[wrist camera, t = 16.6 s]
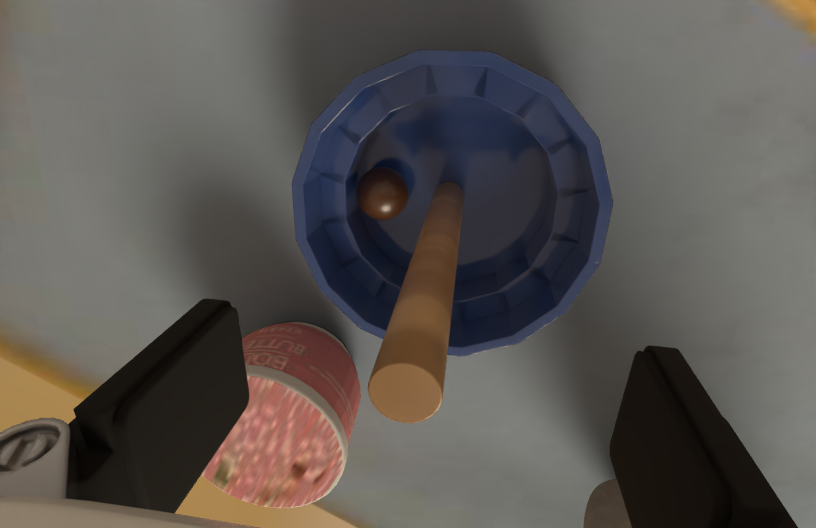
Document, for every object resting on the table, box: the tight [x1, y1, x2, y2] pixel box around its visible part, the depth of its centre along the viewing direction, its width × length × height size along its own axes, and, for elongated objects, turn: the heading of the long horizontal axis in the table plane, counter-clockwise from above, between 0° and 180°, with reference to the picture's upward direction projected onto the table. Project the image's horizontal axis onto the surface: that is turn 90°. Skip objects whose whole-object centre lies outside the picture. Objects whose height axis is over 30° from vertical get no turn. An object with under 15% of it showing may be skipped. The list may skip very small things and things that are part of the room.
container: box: [202, 322, 360, 508], centre depth 31 cm, size 10×10×8 cm
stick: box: [368, 182, 464, 423], centre depth 19 cm, size 2×2×18 cm
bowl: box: [292, 49, 613, 356], centre depth 25 cm, size 15×15×6 cm
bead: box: [356, 167, 409, 220], centre depth 26 cm, size 3×3×3 cm
